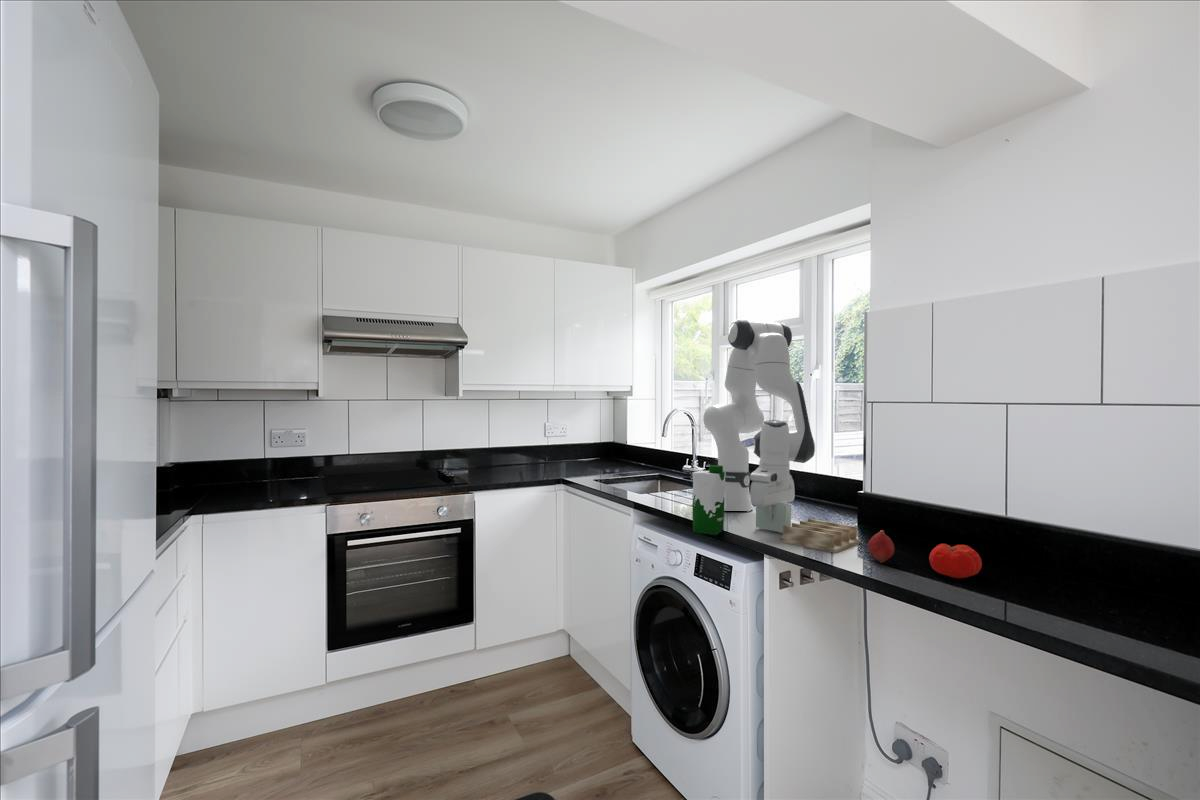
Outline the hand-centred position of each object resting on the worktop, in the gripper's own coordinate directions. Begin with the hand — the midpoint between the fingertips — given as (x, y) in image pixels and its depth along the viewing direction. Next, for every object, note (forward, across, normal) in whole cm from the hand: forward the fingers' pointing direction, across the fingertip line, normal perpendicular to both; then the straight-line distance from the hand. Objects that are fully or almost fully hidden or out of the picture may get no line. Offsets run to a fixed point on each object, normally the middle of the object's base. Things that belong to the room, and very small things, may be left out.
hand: (773, 518), depth 165 cm
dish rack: (+4, +2, +16) cm, 16 cm away
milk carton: (+4, +16, -12) cm, 21 cm away
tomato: (+4, +6, +50) cm, 50 cm away
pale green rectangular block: (+3, 0, 0) cm, 3 cm away
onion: (+4, +10, +35) cm, 36 cm away
